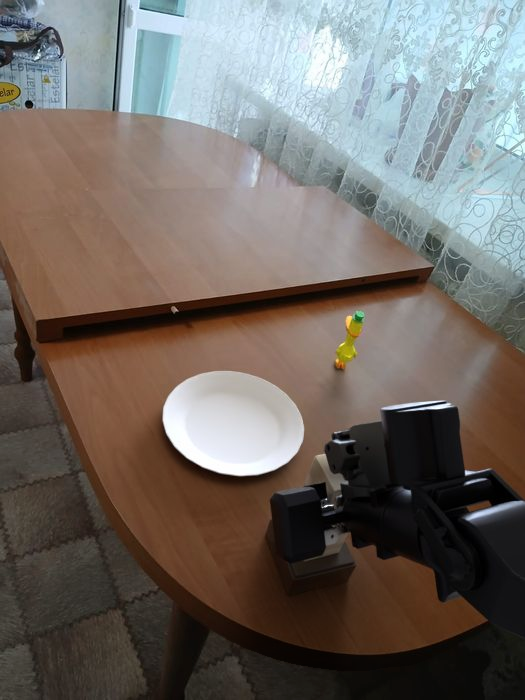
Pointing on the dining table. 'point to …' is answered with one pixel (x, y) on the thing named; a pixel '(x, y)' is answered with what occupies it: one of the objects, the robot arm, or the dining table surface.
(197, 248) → the dining table surface
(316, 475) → the block
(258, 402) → the plate
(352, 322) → the toy figure
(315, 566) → the stand
